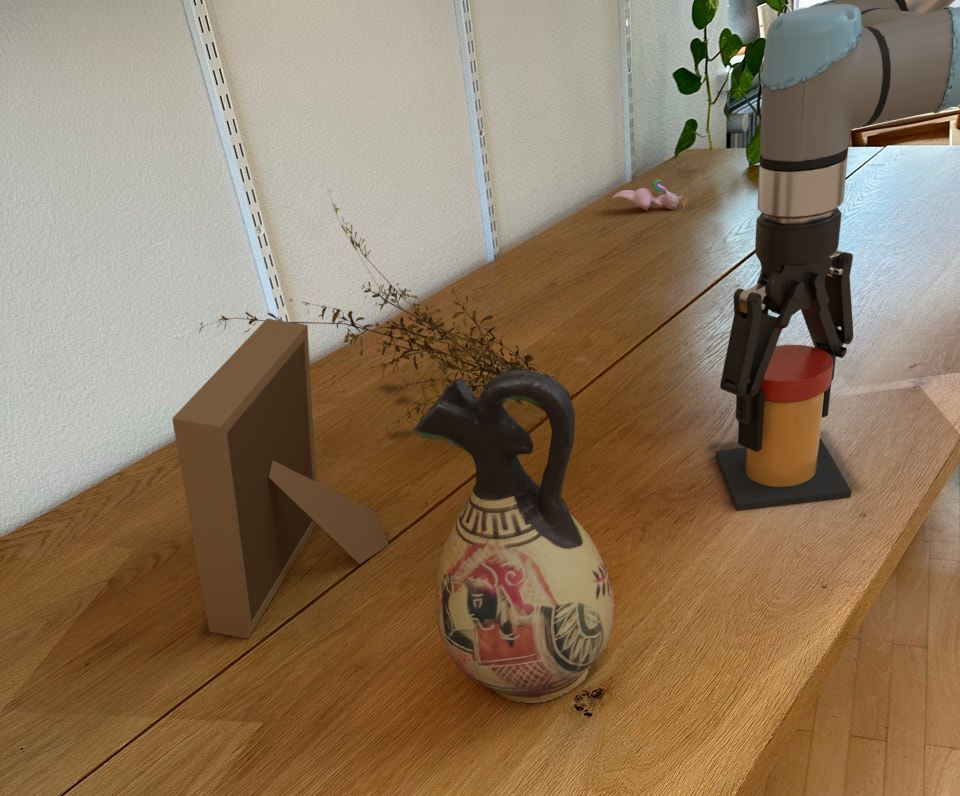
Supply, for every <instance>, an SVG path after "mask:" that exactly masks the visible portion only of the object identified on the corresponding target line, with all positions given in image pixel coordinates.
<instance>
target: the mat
mask: <svg viewBox="0 0 960 796" xmlns="http://www.w3.org/2000/svg"><path fill="white" fill-rule="evenodd" d="M715 457H716V461H717V463H718V465H719V468H720V471H721V473H722V476H723V478H724V481H725V484H726V487H727V489H728V492H729V495H730V497H731V501H732V503H733V505H734V508H735V510H736V511H737V512H738V511H746V510H753V509H762V508H770V507H780V506H787V505H797V504H804V503H814V502H823V501H830V500H839V499H847V498H851V497H852V489H851V488H850V486H849V484H848V483H847V481H846V479H845V477H844V476H843V474H842V472H841V470H840V469H839V467H838V464H837V463H836V461H835V460H834V458H833V456H832V455H831V453H830V451H829V450H828V448H827V446H826V445H825V443H824V441H823V439H822V437H820V439H819V449H818V459H817V469H816V473H815V475H814V476H813V477H812V478H811V479H809V480H808V481H806V482H804V483H802V484H798V485H795V486H789V487H772V486H766V485H762V484H759V483H757V482H755V481H753V480H751V479H750V478H749V477H748V476H747V474H746V471H745V463H746V447H744V446H742V447H736V448H727V449H719V450H715Z"/></svg>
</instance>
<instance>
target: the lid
mask: <svg viewBox="0 0 960 796" xmlns="http://www.w3.org/2000/svg"><path fill="white" fill-rule="evenodd" d="M832 369H833V358H832V357H831V355H830V354H828V353H827V352H825V351H824V350H821V349H818V348H815V347H814V346H812V345H811V346H810V345H803V344H782V345H781V344H780V345H776V347H775V349H774V352H773V355H772V357H771V360H770V362H769V365H768V368H767V370H766V373H765V375H764V378H763V381H762V383H761V386H760V388H759V390H760V391H763V392H765V400H768V401H775V402H793V401H801V400H806V399H810V398H813V397H816V396H818V395H820V394H822V393H823V392H825V391H826V390H827V389H828V388H829V387H830V385H831V386H832V382H831V379H832ZM748 381H749V382H750V379H749V380H748Z"/></svg>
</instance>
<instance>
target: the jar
mask: <svg viewBox="0 0 960 796" xmlns="http://www.w3.org/2000/svg"><path fill="white" fill-rule="evenodd" d="M823 399H824V392H823V393H822V394H820V395H818V396H816V397H813V398H810V399H806V400H801V401H793V402H775V401H768V400H765V401H764V419H763V437H762V450H760V451H758V452H755V451H753V450H751V449H749V448H746V463H745V471H746V474H747V476H748V477H749V478H750V479H751V480H753V481H755V482H757V483H759V484H762V485H766V486H772V487H789V486H795V485H798V484H802V483H804V482H806V481H808V480H809V479H811V478H812V477H813V476H814V475H815V473H816V469H817V459H818V449H819V439H820V438H821V429H822V428H821V427H822V419H823V418H822V409H823Z"/></svg>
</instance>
